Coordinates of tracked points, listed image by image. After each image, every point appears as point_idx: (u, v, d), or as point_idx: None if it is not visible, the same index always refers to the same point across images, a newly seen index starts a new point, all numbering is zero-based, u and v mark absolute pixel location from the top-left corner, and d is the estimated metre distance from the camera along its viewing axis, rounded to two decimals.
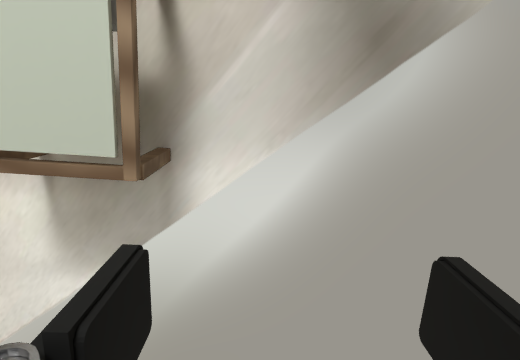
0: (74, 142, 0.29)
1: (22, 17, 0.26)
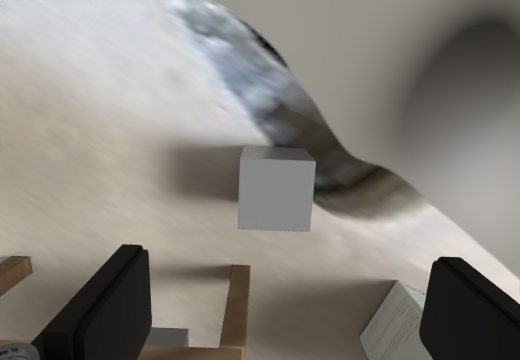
0: None
1: None
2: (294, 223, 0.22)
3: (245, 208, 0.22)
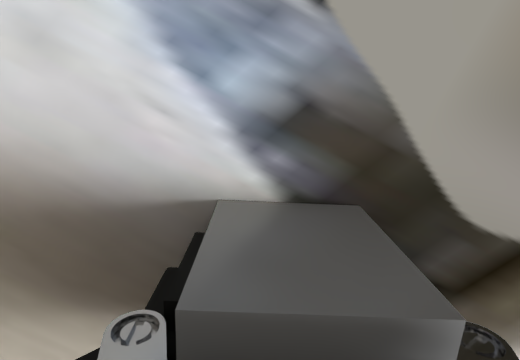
0: None
1: None
2: None
3: None
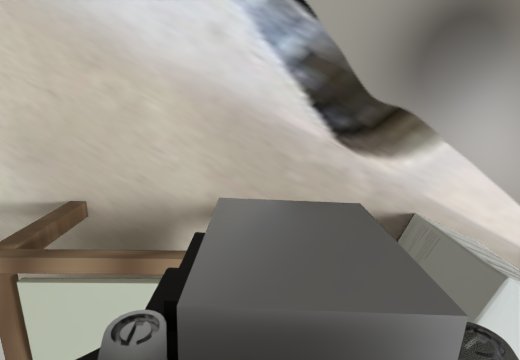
0: None
1: None
2: None
3: None
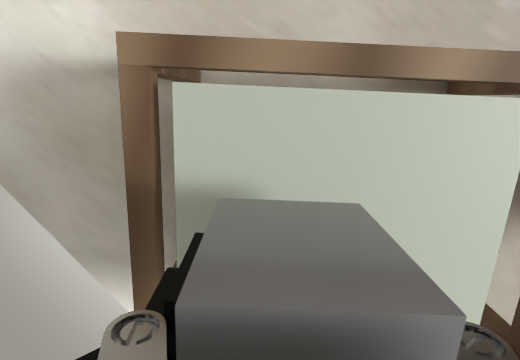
0: None
1: (425, 224, 0.14)
2: None
3: None
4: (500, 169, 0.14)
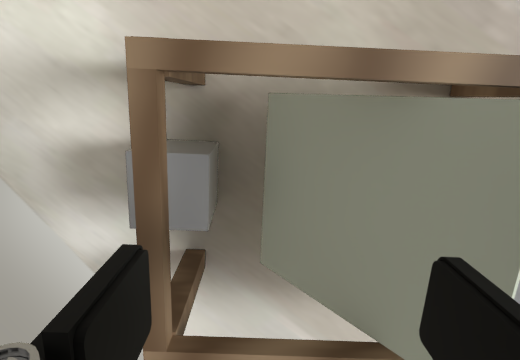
0: (272, 224, 0.23)
1: (421, 226, 0.14)
2: None
3: None
4: (511, 184, 0.12)
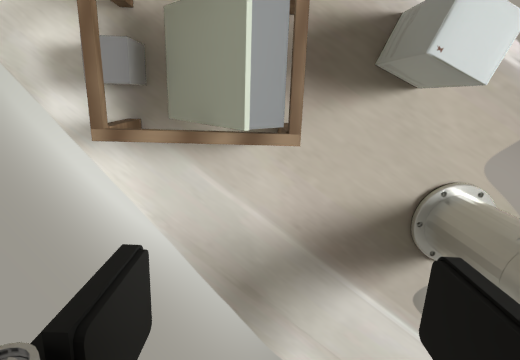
0: (171, 88, 0.38)
1: (220, 52, 0.30)
2: None
3: None
4: (240, 16, 0.28)
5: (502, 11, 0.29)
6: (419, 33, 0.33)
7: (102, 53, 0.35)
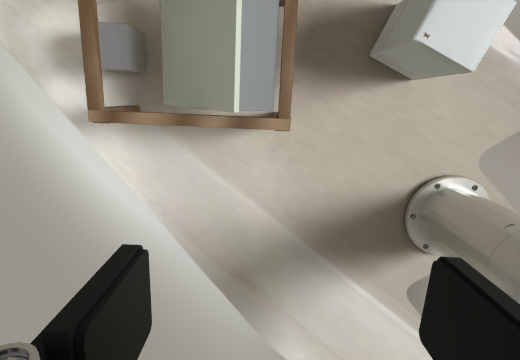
0: (166, 75, 0.39)
1: (212, 37, 0.31)
2: None
3: None
4: (230, 1, 0.29)
5: None
6: (408, 21, 0.34)
7: (102, 39, 0.36)
